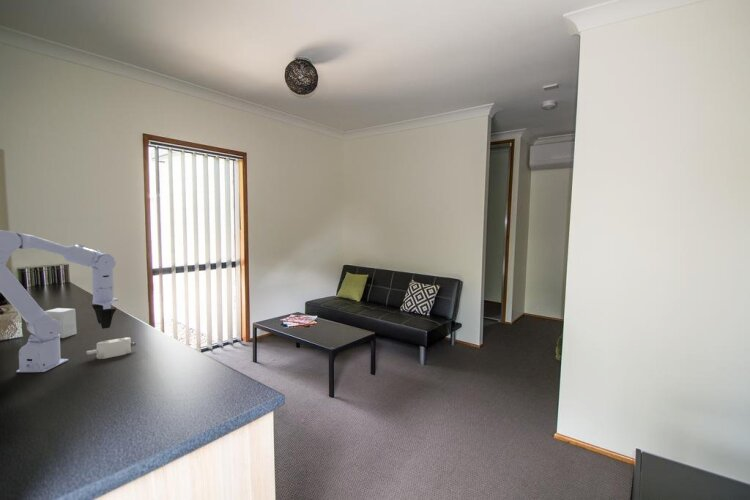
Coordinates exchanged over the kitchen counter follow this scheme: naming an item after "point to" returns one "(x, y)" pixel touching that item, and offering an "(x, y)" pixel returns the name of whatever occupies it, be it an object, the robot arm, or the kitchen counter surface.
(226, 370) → the kitchen counter surface
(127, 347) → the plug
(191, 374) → the kitchen counter surface
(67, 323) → the small box
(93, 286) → the robot arm
